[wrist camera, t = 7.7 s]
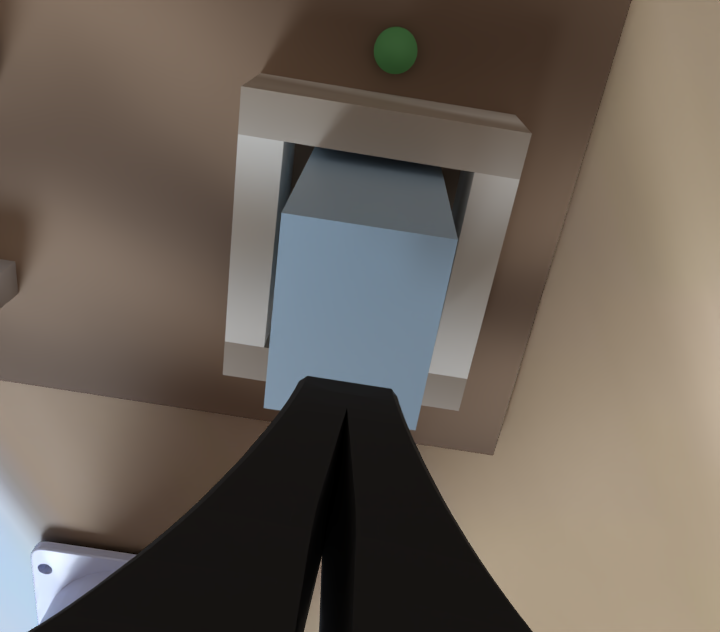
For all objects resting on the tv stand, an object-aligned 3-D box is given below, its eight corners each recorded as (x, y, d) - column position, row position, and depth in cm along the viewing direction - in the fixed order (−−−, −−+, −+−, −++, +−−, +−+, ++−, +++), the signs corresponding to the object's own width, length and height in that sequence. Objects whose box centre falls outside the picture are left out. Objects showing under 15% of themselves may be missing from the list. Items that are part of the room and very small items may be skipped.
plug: (410, 299, 18) (415, 430, 13) (303, 282, 18) (263, 407, 13) (438, 155, 16) (457, 239, 11) (319, 137, 16) (281, 212, 11)
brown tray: (490, 443, 21) (503, 505, 19) (-204, 337, 21) (-286, 386, 18) (624, -6, 15) (668, -3, 13) (-343, -168, 15) (-493, -198, 12)
